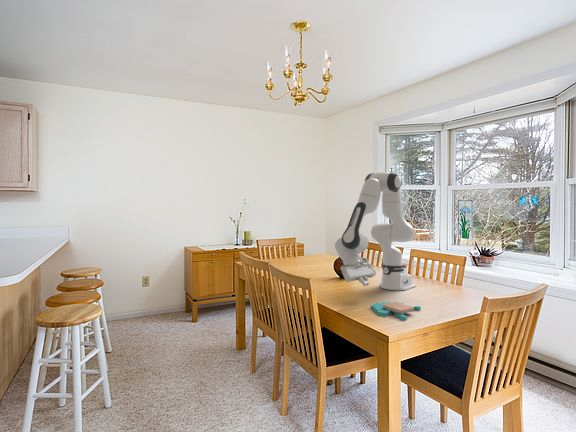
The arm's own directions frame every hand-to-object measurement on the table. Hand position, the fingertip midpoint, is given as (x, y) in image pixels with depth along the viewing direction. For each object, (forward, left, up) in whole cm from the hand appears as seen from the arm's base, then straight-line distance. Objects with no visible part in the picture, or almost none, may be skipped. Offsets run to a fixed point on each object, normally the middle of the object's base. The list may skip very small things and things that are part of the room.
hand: (366, 285), depth 187 cm
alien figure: (0, +17, -10) cm, 20 cm away
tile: (0, +15, -7) cm, 16 cm away
